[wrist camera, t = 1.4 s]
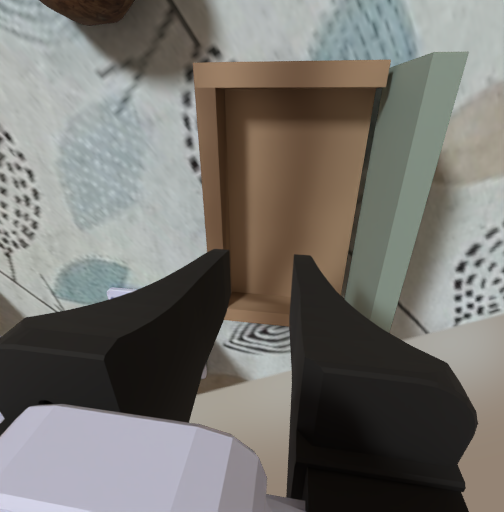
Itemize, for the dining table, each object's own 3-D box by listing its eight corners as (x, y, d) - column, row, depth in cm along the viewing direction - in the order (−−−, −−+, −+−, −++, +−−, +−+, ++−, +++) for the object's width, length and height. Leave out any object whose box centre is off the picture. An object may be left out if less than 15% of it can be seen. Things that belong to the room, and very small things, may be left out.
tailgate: (342, 310, 21) (355, 380, 16) (385, 69, 14) (433, 52, 9) (357, 311, 21) (375, 382, 16) (407, 69, 14) (468, 51, 9)
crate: (224, 290, 24) (212, 318, 21) (212, 69, 17) (192, 62, 14) (335, 300, 23) (340, 331, 20) (373, 67, 16) (391, 59, 13)
